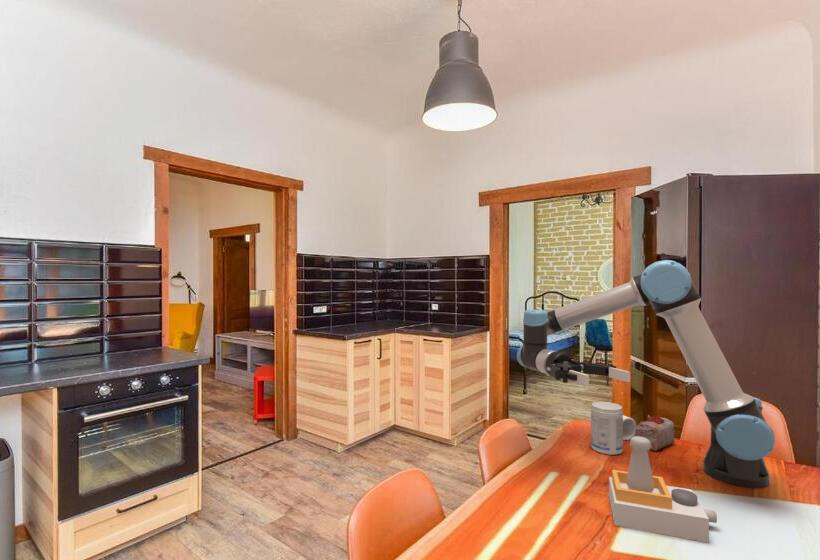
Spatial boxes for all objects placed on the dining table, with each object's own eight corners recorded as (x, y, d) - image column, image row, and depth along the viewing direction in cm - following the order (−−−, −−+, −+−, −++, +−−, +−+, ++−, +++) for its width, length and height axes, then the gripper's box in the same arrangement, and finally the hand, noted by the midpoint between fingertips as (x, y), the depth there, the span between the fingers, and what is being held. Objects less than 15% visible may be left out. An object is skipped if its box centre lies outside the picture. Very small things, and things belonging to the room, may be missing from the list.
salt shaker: (651, 490, 103) (652, 435, 103) (656, 501, 98) (657, 444, 98) (624, 486, 105) (625, 432, 105) (627, 496, 100) (628, 440, 100)
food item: (657, 453, 139) (657, 423, 139) (632, 445, 146) (633, 416, 146) (677, 445, 147) (677, 416, 147) (652, 438, 153) (653, 410, 154)
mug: (614, 430, 161) (614, 408, 161) (636, 439, 152) (636, 416, 152) (588, 433, 157) (588, 411, 157) (609, 443, 148) (609, 419, 148)
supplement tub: (613, 444, 146) (613, 401, 147) (629, 455, 137) (629, 409, 137) (585, 444, 146) (585, 401, 146) (599, 456, 136) (600, 409, 136)
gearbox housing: (705, 512, 103) (706, 481, 103) (725, 546, 90) (726, 509, 90) (609, 496, 110) (609, 467, 110) (614, 525, 97) (614, 491, 97)
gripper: (587, 373, 135) (645, 389, 115) (519, 378, 127) (569, 397, 107) (587, 349, 135) (645, 361, 115) (519, 353, 127) (569, 366, 107)
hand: (609, 378), depth 111 cm, fingers open, 13 cm apart
